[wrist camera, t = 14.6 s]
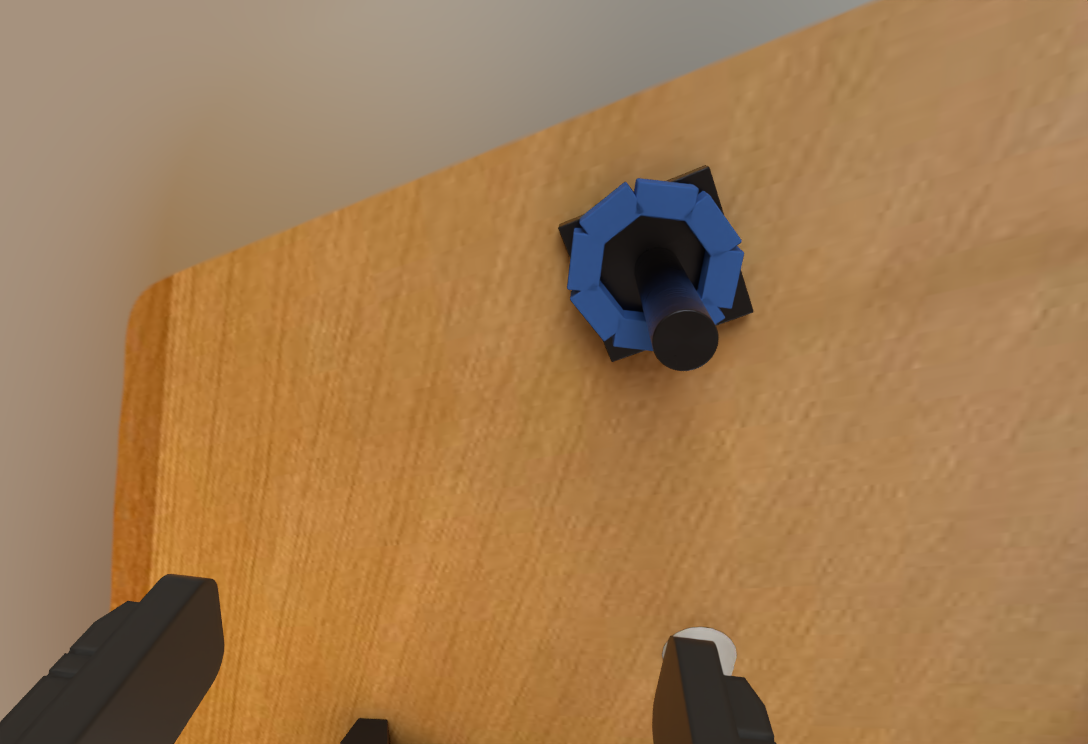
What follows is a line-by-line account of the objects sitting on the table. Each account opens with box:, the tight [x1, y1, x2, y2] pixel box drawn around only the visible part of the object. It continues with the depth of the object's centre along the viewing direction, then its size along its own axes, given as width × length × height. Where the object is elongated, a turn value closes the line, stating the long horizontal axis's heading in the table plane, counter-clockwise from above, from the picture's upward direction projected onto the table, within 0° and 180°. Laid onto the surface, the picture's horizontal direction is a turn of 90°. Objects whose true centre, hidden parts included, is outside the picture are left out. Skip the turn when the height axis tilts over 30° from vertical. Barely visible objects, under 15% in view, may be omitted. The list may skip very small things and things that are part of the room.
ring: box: [567, 178, 744, 351], centre depth 33 cm, size 8×8×2 cm
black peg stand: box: [558, 165, 753, 371], centre depth 29 cm, size 8×8×12 cm
